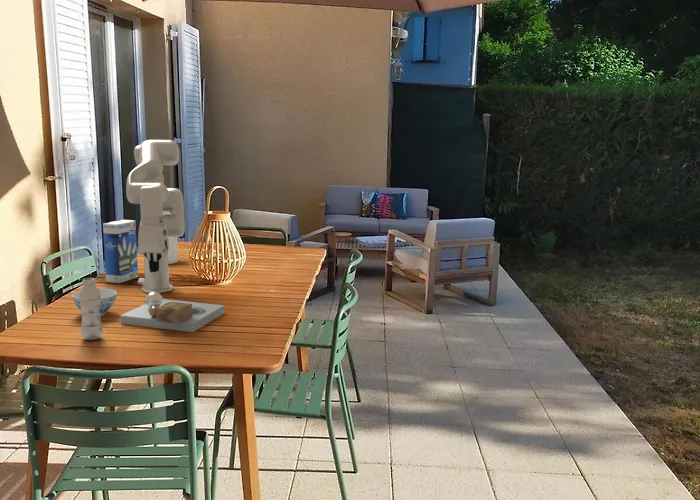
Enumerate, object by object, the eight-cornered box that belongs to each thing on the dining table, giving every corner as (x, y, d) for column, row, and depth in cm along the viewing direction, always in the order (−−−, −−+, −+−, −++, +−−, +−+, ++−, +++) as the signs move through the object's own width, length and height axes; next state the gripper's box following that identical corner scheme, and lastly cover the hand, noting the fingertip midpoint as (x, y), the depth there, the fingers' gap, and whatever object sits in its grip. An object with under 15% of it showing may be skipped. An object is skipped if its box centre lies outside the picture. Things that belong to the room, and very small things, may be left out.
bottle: (147, 260, 323) (145, 204, 317) (175, 258, 329) (173, 203, 323) (151, 266, 310) (149, 208, 305) (180, 263, 316) (178, 207, 311)
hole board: (120, 323, 224) (120, 315, 223) (157, 305, 246) (157, 298, 245) (192, 332, 216) (192, 323, 216) (224, 313, 238) (224, 305, 238)
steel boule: (142, 309, 230) (141, 293, 229) (151, 305, 236) (150, 289, 235) (156, 311, 229) (156, 294, 228) (166, 306, 235) (165, 290, 233)
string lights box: (119, 283, 277) (116, 224, 272) (105, 282, 279) (101, 223, 274) (138, 276, 289) (136, 220, 284) (124, 275, 291) (121, 219, 286)
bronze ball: (146, 317, 221) (146, 307, 220) (153, 314, 225) (152, 304, 224) (156, 319, 220) (156, 308, 219) (162, 315, 224) (162, 305, 223)
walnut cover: (156, 321, 217) (155, 307, 216) (170, 314, 225) (169, 301, 224) (179, 323, 215) (178, 310, 214) (192, 316, 223) (191, 303, 222)
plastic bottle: (84, 335, 211) (80, 276, 207) (106, 335, 211) (102, 276, 207) (78, 342, 205) (74, 281, 201) (100, 342, 205) (96, 281, 201)
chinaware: (75, 322, 224) (74, 301, 223) (72, 311, 237) (70, 291, 236) (120, 317, 231) (119, 296, 229) (114, 306, 244) (113, 286, 242)
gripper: (176, 220, 228) (178, 270, 231) (139, 217, 231) (141, 267, 235) (165, 223, 220) (167, 275, 224) (127, 221, 224) (129, 272, 228)
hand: (154, 271), depth 230 cm, fingers closed
